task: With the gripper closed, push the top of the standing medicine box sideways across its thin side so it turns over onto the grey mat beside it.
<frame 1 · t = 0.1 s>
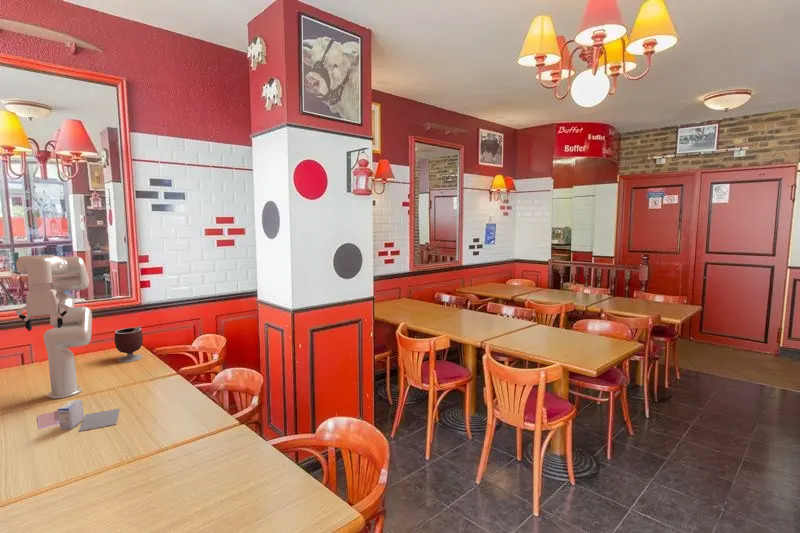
hand: (45, 328, 176), 37 cm above the table, tool pointing down, fingers open, 9 cm apart
mat: (100, 419, 175), on the table
medicine box: (73, 425, 171), on the table, touching mat
mobile phone: (50, 421, 176), on the table
mate gourd: (131, 359, 251), on the table
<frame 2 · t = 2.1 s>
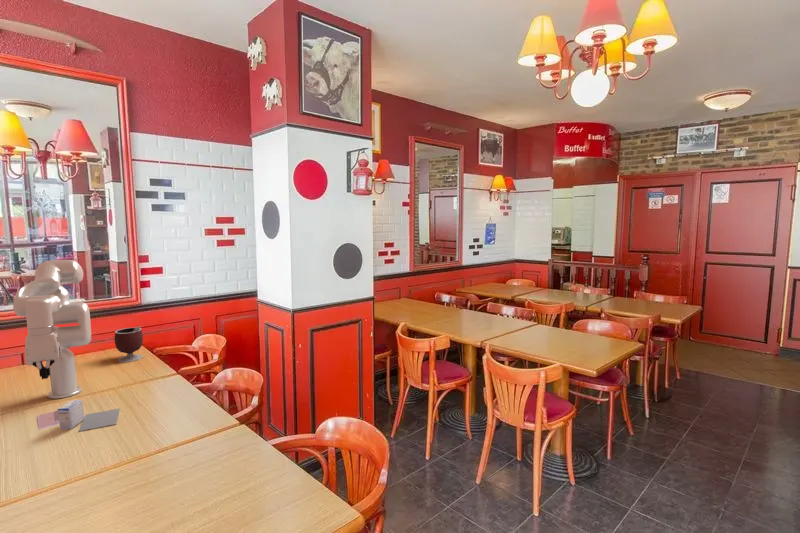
hand: (45, 377, 165), 21 cm above the table, tool pointing down, fingers closed
nothing on the table moved.
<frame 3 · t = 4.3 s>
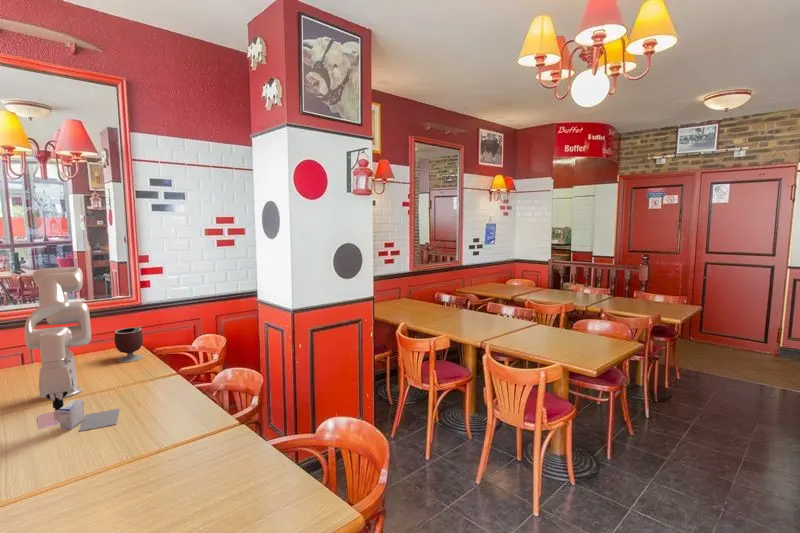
hand: (58, 409, 168), 8 cm above the table, tool pointing down, fingers closed
medicine box: (73, 424, 171), on the table, touching gripper, mat
everything else where it was.
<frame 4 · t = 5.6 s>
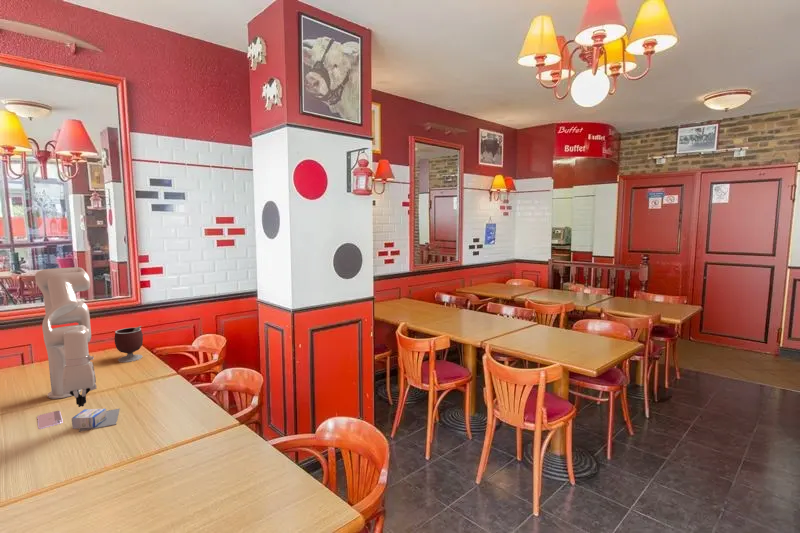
hand: (81, 405, 172), 7 cm above the table, tool pointing down, fingers closed
medicine box: (77, 418, 171), point 2 cm above the table, touching mat
everything else where it was.
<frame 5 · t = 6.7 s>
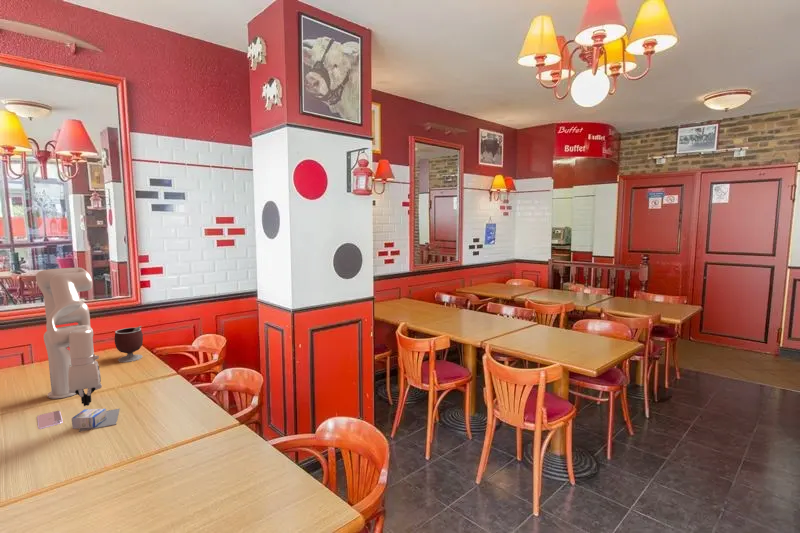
hand: (86, 404, 173), 7 cm above the table, tool pointing down, fingers closed
nothing on the table moved.
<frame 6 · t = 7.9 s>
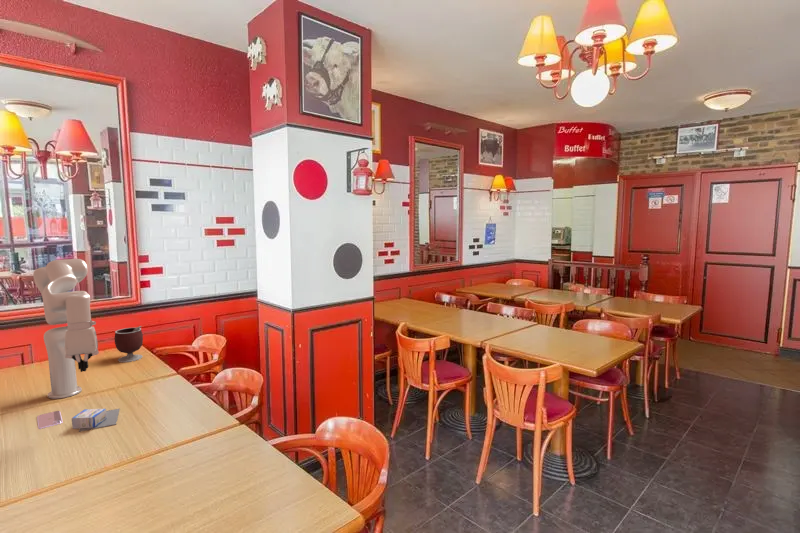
hand: (83, 370, 171), 22 cm above the table, tool pointing down, fingers closed
nothing on the table moved.
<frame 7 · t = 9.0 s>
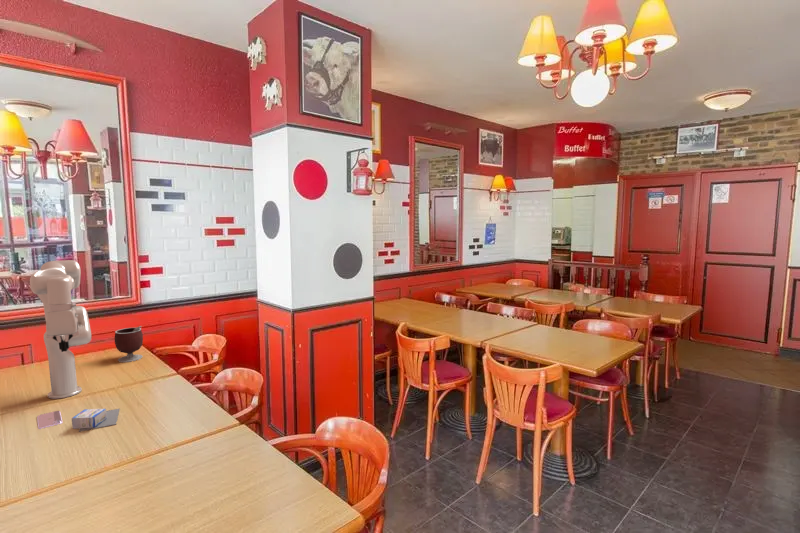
hand: (64, 350, 179), 27 cm above the table, tool pointing down, fingers closed
nothing on the table moved.
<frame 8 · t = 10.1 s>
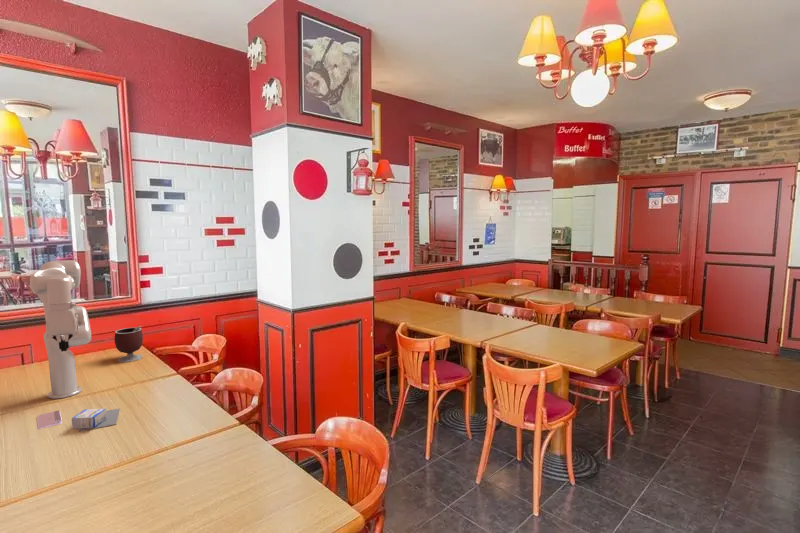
hand: (64, 350, 179), 27 cm above the table, tool pointing down, fingers closed
nothing on the table moved.
at the end: medicine box tilted 89°; medicine box inside the target area (1.8 cm from its centre), point 2.4 cm above the table; medicine box touching mat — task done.
